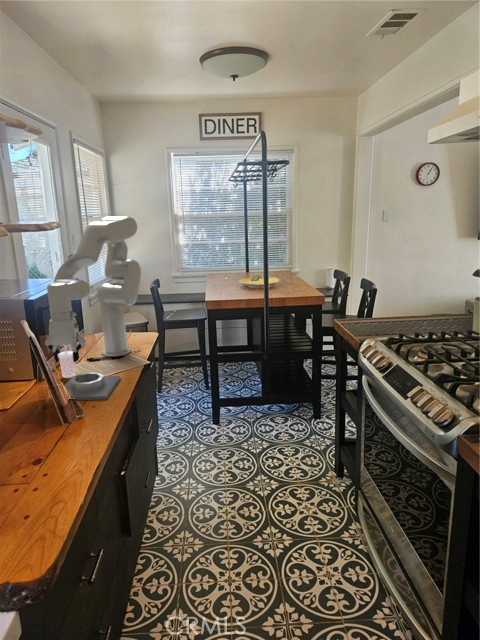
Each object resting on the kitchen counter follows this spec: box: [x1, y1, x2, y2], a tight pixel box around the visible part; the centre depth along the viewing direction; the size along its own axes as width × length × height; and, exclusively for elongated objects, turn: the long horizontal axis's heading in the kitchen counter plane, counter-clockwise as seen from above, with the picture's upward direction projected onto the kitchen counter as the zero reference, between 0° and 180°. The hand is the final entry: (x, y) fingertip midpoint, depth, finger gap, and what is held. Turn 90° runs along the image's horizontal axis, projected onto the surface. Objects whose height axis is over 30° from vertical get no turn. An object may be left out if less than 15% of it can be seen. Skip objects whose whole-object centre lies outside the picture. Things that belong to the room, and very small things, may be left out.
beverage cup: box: [58, 346, 76, 379], centre depth 157 cm, size 6×6×14 cm
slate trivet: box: [63, 375, 121, 401], centre depth 146 cm, size 18×18×1 cm
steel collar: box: [71, 371, 105, 392], centre depth 146 cm, size 10×10×3 cm
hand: (67, 360), depth 157 cm, fingers closed on beverage cup, 6 cm apart
